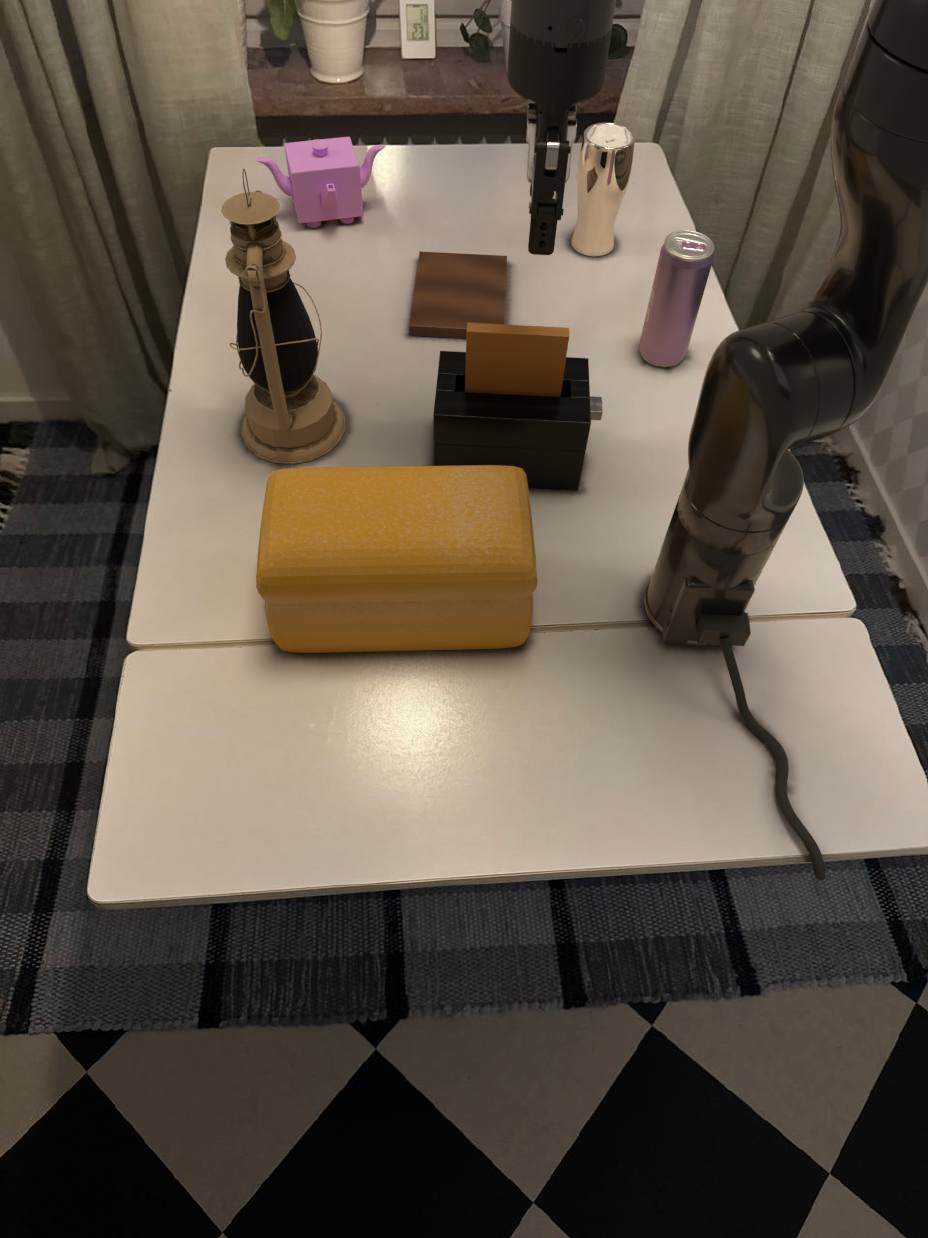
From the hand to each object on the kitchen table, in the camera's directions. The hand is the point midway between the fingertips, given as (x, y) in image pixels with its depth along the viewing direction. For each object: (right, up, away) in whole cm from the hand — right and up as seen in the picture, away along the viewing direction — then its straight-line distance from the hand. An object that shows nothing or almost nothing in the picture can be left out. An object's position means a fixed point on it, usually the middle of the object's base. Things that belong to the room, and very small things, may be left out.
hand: (541, 224), depth 76 cm
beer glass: (+11, +18, +45) cm, 50 cm away
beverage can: (+18, -2, +32) cm, 37 cm away
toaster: (-2, -16, +22) cm, 27 cm away
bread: (-13, -33, +10) cm, 37 cm away
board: (-7, +7, +37) cm, 39 cm away
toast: (-2, -13, +17) cm, 21 cm away
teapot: (-26, +23, +48) cm, 59 cm away
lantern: (-27, -13, +24) cm, 38 cm away
